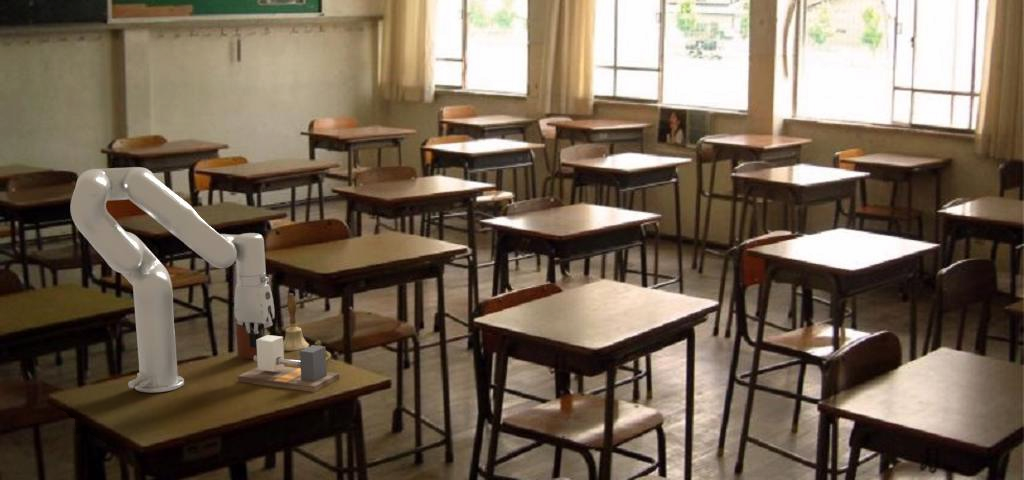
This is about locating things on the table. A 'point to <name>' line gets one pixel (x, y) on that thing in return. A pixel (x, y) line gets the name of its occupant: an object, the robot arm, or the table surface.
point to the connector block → (313, 363)
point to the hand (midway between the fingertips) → (256, 346)
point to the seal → (328, 355)
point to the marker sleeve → (269, 352)
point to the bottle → (244, 343)
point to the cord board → (286, 379)
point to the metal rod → (284, 361)
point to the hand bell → (293, 329)
